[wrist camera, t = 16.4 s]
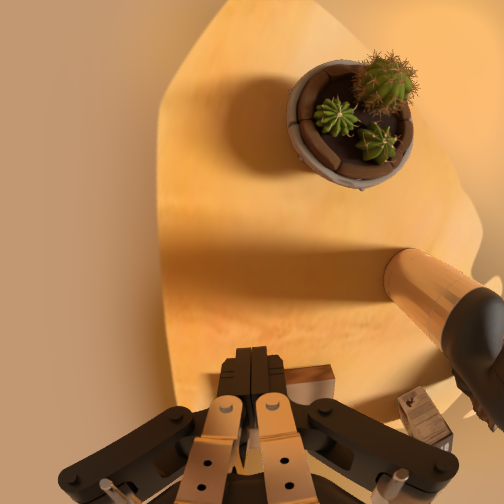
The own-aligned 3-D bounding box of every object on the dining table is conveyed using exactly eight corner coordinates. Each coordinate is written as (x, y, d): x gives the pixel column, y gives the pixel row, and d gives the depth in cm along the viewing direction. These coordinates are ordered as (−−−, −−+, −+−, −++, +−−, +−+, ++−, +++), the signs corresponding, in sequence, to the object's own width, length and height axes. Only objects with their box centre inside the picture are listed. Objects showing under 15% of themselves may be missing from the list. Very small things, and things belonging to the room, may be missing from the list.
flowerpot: (352, 205, 38) (430, 233, 19) (258, 148, 37) (261, 119, 17) (395, 124, 35) (485, 99, 16) (308, 66, 33) (347, -10, 14)
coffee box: (423, 406, 49) (451, 453, 34) (399, 419, 50) (424, 469, 34) (421, 383, 47) (454, 433, 32) (395, 397, 48) (424, 451, 32)
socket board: (330, 364, 45) (335, 378, 41) (324, 427, 50) (327, 441, 46) (226, 373, 46) (223, 388, 42) (238, 435, 50) (237, 449, 47)
